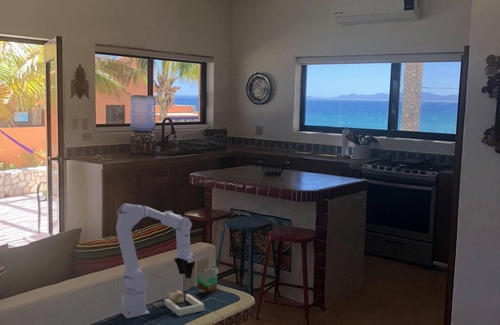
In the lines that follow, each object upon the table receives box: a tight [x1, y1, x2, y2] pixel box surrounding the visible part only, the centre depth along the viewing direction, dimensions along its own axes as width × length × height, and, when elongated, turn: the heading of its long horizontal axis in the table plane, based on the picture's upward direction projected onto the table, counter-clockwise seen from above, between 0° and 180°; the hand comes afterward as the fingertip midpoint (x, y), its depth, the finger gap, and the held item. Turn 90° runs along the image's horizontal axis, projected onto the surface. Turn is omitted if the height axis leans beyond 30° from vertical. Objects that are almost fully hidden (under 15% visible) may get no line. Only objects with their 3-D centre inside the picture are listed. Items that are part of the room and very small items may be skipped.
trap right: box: [190, 294, 201, 300], centre depth 231 cm, size 4×6×1 cm
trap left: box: [151, 301, 167, 309], centre depth 224 cm, size 4×6×1 cm
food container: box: [195, 264, 219, 294], centre depth 239 cm, size 12×6×10 cm, turn 143°
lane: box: [163, 293, 205, 317], centre depth 219 cm, size 11×16×2 cm, turn 28°
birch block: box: [167, 290, 185, 305], centre depth 227 cm, size 5×5×4 cm
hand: (185, 275), depth 231 cm, fingers open, 7 cm apart
